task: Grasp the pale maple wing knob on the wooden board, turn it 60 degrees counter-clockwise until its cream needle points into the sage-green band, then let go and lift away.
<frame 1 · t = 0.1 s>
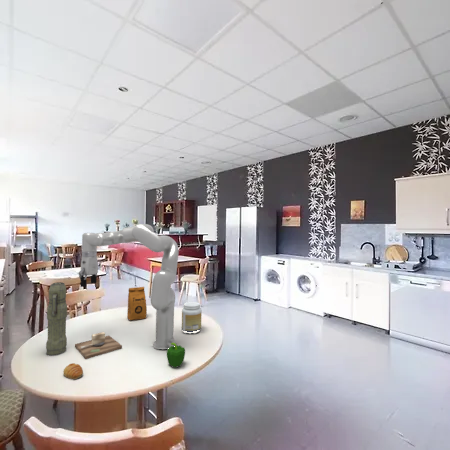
hand: (88, 284, 158), 31 cm above the table, tool pointing down, fingers open, 9 cm apart
thermos: (56, 352, 142), on the table
knob: (93, 340, 146), point 5 cm above the table, hinge at 0.0°
supplement tub: (191, 331, 174), on the table
wooden board: (98, 347, 148), on the table
coffee package: (136, 318, 194), on the table
pastry: (74, 375, 122), on the table
bell pepper: (175, 365, 132), on the table
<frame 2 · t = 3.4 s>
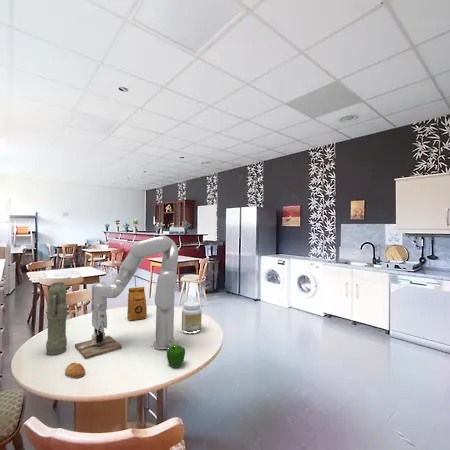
hand: (98, 340, 148), 4 cm above the table, tool pointing down, fingers closed on knob, 2 cm apart
knob: (93, 340, 146), point 5 cm above the table, hinge at 0.0°, touching gripper
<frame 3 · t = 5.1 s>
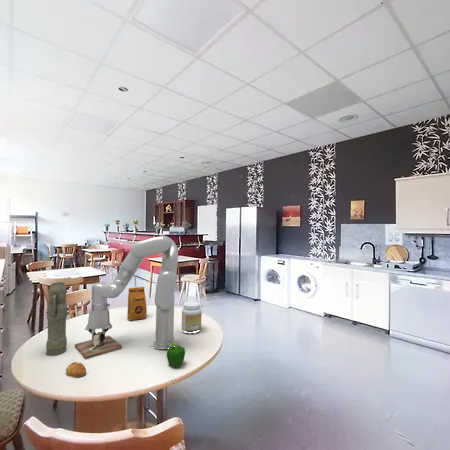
hand: (98, 340, 148), 4 cm above the table, tool pointing down, fingers closed on knob, 3 cm apart
knob: (95, 341, 145), point 5 cm above the table, hinge at 45.3°, touching gripper
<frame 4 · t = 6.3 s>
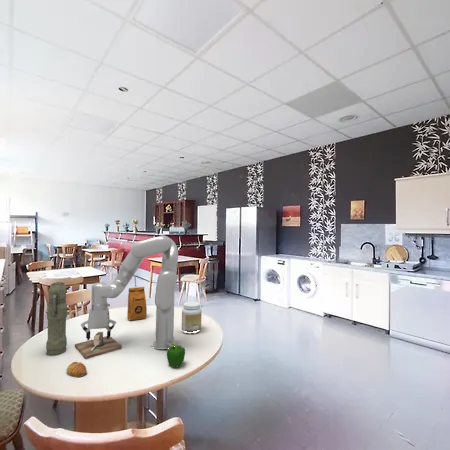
hand: (98, 338, 148), 5 cm above the table, tool pointing down, fingers open, 9 cm apart
knob: (96, 341, 145), point 5 cm above the table, hinge at 49.6°
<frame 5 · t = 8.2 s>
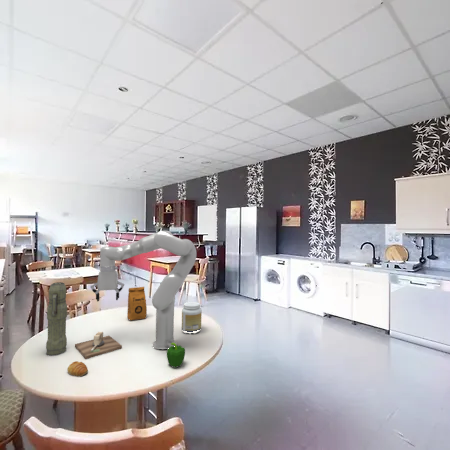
hand: (107, 300, 153), 24 cm above the table, tool pointing down, fingers open, 9 cm apart
knob: (96, 341, 145), point 5 cm above the table, hinge at 50.5°
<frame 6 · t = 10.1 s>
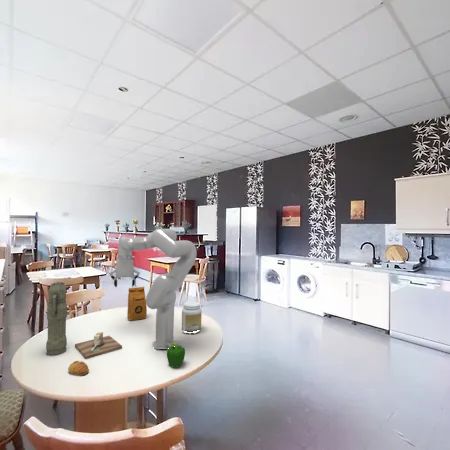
hand: (124, 286, 167), 28 cm above the table, tool pointing down, fingers open, 9 cm apart
at the end: knob at +50° (first picture: +0°); the gripper is holding nothing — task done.
